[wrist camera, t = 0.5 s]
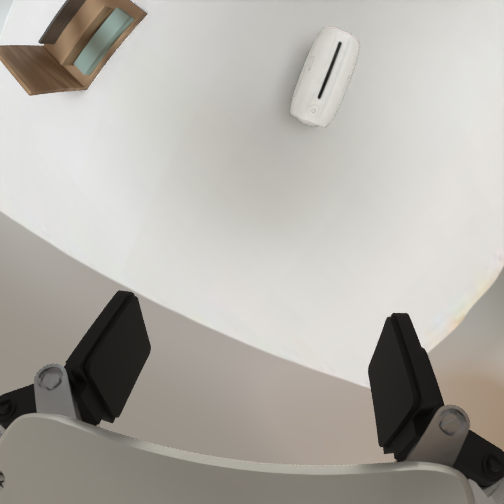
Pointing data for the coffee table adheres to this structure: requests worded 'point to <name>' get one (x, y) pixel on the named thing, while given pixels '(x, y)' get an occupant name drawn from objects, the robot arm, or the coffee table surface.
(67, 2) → the bookend
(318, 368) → the coffee table surface
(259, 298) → the coffee table surface
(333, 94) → the photo printer
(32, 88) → the shelf
